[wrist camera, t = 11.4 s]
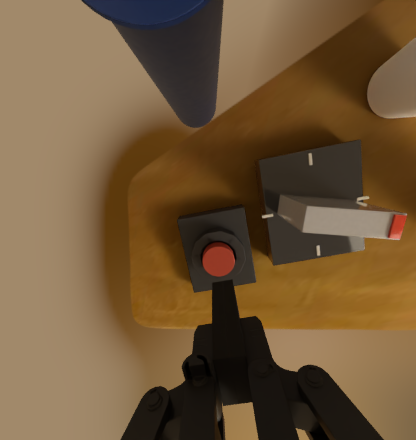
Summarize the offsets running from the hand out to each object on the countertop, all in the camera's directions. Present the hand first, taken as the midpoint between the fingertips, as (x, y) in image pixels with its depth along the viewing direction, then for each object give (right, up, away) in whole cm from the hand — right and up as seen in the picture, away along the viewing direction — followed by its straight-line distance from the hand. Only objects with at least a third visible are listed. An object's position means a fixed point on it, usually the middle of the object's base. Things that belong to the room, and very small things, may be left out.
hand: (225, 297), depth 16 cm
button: (0, +1, +13) cm, 13 cm away
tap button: (0, +2, +16) cm, 16 cm away
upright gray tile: (+12, +7, +12) cm, 18 cm away
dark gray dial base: (+12, +8, +14) cm, 20 cm away
